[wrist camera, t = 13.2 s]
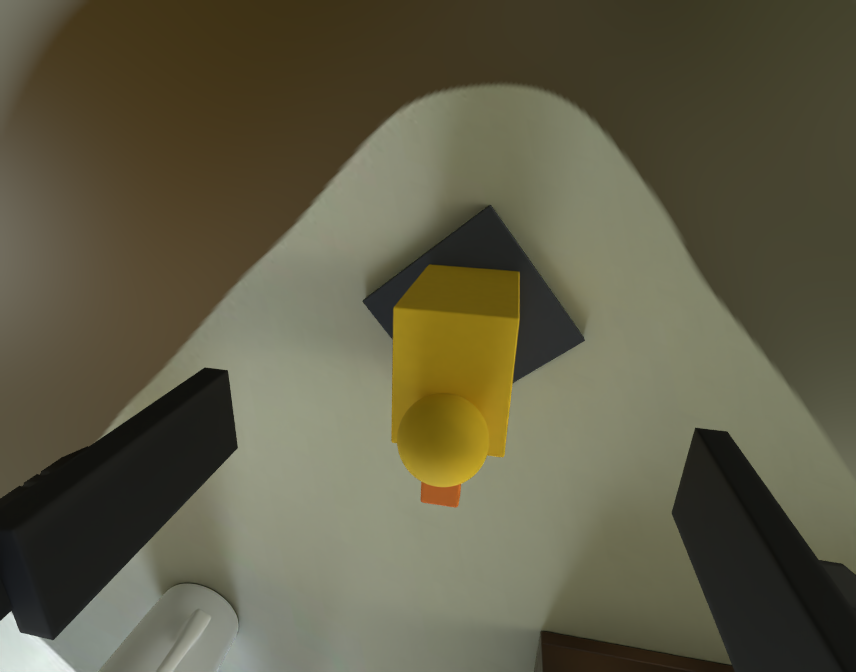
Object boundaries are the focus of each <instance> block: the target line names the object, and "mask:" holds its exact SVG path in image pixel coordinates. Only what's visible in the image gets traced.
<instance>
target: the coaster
mask: <svg viewBox="0 0 856 672" xmlns="http://www.w3.org/2000/svg"><path fill="white" fill-rule="evenodd" d="M428 265H442V266H455V267H468V268H481V269H494V270H507V271H518V272H519V273H520V320H519V329H518V338H517V347H516V356H515V365H514V374H513V383H514V382H515V381H517V380H519V379H520V378H522V377H524V376H525V375H527V374H529V373H531V372H532V371H534V370H536V369H537V368H539V367H541V366H543V365H544V364H546V363H548V362H549V361H551V360H553V359H554V358H556V357H558V356H560V355H561V354H563V353H565V352H566V351H568V350H570V349H571V348H573V347H575V346H577V345H578V344H580V343H582V342H583V341H585V340H584V337H583V335H582V334H581V333H580V331H579V330H578V328H577V327H576V326H575V324H574V323H573V321H572V320H571V318H570V317H569V316H568V314H567V313H566V311H565V310H564V308H563V307H562V306H561V304H560V303H559V301H558V300H557V298H556V297H555V296H554V294H553V293H552V291H551V290H550V289H549V287H548V286H547V284H546V283H545V281H544V280H543V279H542V277H541V276H540V274H539V273H538V271H537V270H536V269H535V267H534V266H533V264H532V263H531V261H530V260H529V259H528V257H527V256H526V254H525V253H524V252H523V250H522V249H521V247H520V246H519V244H518V243H517V242H516V240H515V239H514V237H513V236H512V234H511V233H510V232H509V230H508V229H507V227H506V226H505V224H504V223H503V222H502V220H501V219H500V217H499V216H498V215H497V213H496V212H495V210H494V209H493V207H492V206H491V205H489V206H488V207H486V208H485V209H484V210H482V211H481V212H480V213H478V214H477V215H476V216H474V217H473V218H472V219H470V220H469V221H468V222H466V223H465V224H464V225H462V226H461V227H460V228H458V229H457V230H456V231H454V232H453V233H452V234H450V235H449V236H448V237H446V238H445V239H444V240H442V241H441V242H440V243H438V244H437V245H436V246H434V247H433V248H432V249H430V250H429V251H428V252H426V253H425V254H424V255H422V256H421V257H420V258H418V259H417V260H416V261H414V262H413V263H412V264H410V265H409V266H408V267H406V268H405V269H404V270H402V271H401V272H400V273H399V274H397V275H396V276H395V277H393V278H392V279H391V280H389V281H388V282H387V283H385V284H384V285H383V286H381V287H380V288H379V289H377V290H376V291H375V292H373V293H372V294H371V295H369V296H368V297H367V298H365V299H364V300H363V303H364V304H365V305H366V306H367V308H368V309H369V310H370V311H371V313H372V314H373V315H374V317H375V318H376V319H377V320H378V322H379V323H380V324H381V325H382V327H383V328H384V329H385V330H386V332H387V333H388V334H389V335H390V337H391V338H392V339H393V308H394V306H395V305H396V304H397V303H398V301H399V300H400V299H401V298H402V296H403V295H404V294H405V293H406V292H407V290H408V289H409V288H410V287H411V286H412V284H413V283H414V282H415V281H416V280H417V278H418V277H419V276H420V275H421V273H422V272H423V271H424V270H425V269H426V267H427V266H428Z"/></svg>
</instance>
